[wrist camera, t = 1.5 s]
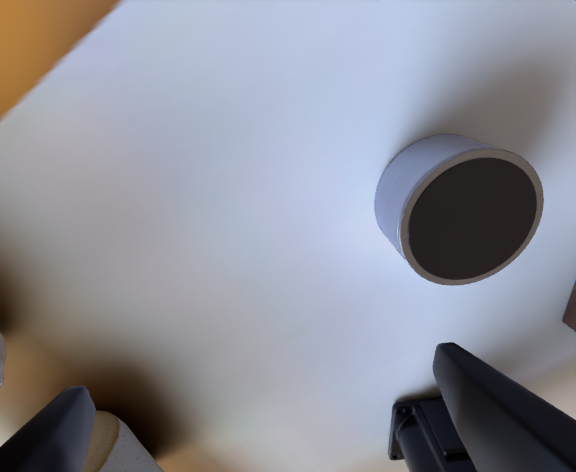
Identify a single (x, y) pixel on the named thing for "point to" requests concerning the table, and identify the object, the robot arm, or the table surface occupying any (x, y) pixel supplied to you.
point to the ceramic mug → (116, 448)
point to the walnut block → (571, 311)
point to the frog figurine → (2, 357)
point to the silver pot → (458, 208)
